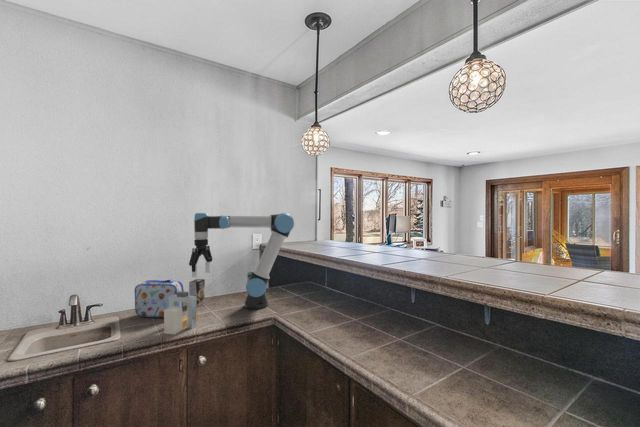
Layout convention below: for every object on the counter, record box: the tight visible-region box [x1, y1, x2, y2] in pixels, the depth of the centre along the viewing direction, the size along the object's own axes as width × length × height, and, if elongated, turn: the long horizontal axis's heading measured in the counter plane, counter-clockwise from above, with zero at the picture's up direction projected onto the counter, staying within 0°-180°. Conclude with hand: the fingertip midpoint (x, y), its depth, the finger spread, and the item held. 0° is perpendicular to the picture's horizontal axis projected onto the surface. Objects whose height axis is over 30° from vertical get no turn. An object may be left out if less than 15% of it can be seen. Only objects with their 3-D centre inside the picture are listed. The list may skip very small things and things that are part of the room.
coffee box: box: [188, 278, 206, 308], centre depth 200 cm, size 9×6×16 cm
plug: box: [163, 306, 199, 335], centre depth 162 cm, size 21×6×12 cm, turn 167°
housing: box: [169, 291, 197, 330], centre depth 162 cm, size 14×4×18 cm, turn 78°
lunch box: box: [134, 279, 185, 319], centre depth 178 cm, size 28×10×22 cm, turn 89°
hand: (201, 274), depth 178 cm, fingers open, 12 cm apart
